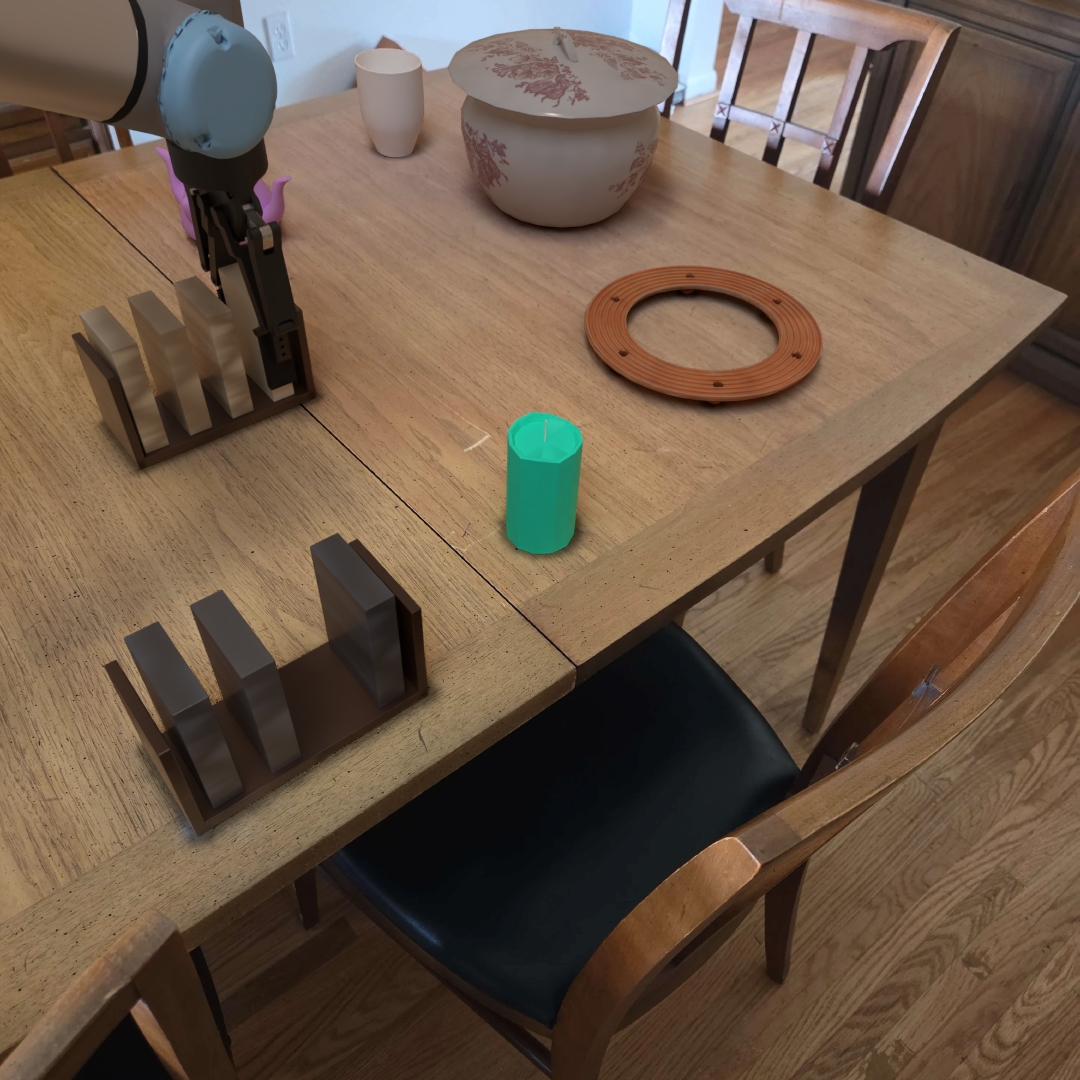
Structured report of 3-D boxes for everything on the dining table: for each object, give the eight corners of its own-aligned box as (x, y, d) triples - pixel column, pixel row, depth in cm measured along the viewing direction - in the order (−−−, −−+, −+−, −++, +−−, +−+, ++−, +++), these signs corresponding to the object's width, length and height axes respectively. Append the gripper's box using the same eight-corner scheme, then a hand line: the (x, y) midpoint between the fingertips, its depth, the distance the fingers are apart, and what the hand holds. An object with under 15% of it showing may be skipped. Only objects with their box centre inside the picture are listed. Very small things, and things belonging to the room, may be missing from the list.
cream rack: (139, 470, 83) (99, 359, 75) (105, 424, 88) (63, 314, 79) (316, 397, 92) (299, 290, 83) (277, 358, 96) (256, 252, 87)
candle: (495, 513, 81) (496, 405, 73) (558, 498, 83) (567, 390, 74) (519, 561, 78) (523, 453, 69) (585, 544, 79) (597, 436, 71)
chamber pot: (580, 280, 109) (595, 97, 94) (407, 206, 120) (396, 31, 105) (701, 197, 125) (730, 29, 110) (538, 138, 136) (544, -22, 121)
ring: (536, 324, 102) (537, 305, 100) (701, 259, 113) (704, 241, 112) (696, 448, 89) (700, 428, 87) (865, 361, 100) (872, 342, 98)
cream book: (274, 402, 89) (253, 302, 81) (240, 367, 93) (217, 268, 85) (294, 394, 90) (276, 294, 82) (260, 359, 94) (239, 261, 86)
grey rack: (197, 837, 60) (148, 737, 51) (146, 750, 64) (93, 645, 55) (428, 694, 68) (420, 588, 59) (370, 626, 72) (354, 517, 64)
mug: (409, 168, 127) (403, 76, 118) (351, 156, 129) (341, 64, 120) (444, 136, 135) (441, 47, 126) (389, 124, 137) (383, 36, 128)
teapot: (172, 216, 115) (154, 145, 109) (284, 201, 119) (273, 131, 113) (183, 263, 108) (164, 189, 101) (303, 246, 112) (291, 174, 105)
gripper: (318, 159, 70) (350, 401, 87) (201, 74, 80) (250, 305, 97) (225, 185, 67) (278, 432, 83) (116, 93, 77) (182, 329, 94)
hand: (263, 363), depth 90 cm, fingers closed on cream book, 7 cm apart
